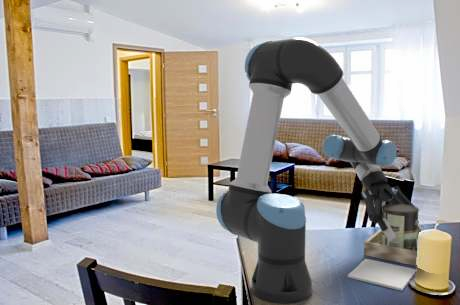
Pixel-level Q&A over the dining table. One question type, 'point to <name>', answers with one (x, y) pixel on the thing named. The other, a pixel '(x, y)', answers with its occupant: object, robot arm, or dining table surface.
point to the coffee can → (401, 225)
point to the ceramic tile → (382, 274)
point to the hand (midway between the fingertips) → (406, 236)
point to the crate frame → (388, 250)
